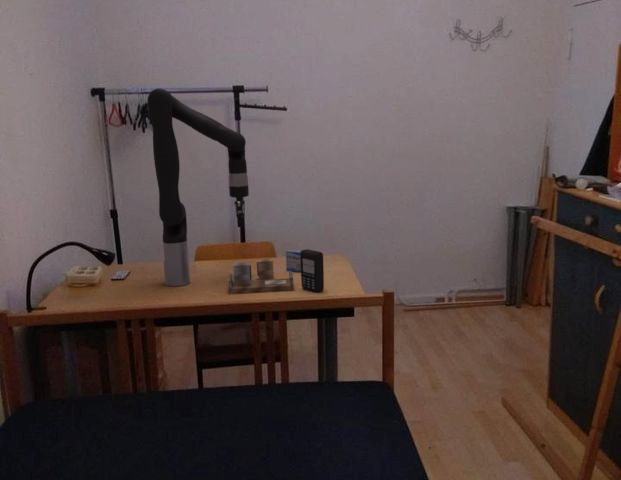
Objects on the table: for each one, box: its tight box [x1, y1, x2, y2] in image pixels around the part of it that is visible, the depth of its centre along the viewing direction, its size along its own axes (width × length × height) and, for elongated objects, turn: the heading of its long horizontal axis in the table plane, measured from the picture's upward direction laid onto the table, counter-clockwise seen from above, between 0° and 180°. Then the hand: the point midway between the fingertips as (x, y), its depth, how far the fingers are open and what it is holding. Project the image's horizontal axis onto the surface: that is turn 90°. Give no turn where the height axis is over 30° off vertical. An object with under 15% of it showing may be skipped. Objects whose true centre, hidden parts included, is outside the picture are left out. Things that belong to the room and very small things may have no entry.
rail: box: [227, 262, 295, 295], centre depth 224 cm, size 24×10×10 cm, turn 95°
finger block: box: [256, 258, 275, 280], centre depth 236 cm, size 6×4×8 cm, turn 95°
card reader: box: [300, 248, 325, 293], centre depth 219 cm, size 9×4×15 cm, turn 44°
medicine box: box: [285, 249, 302, 273], centre depth 248 cm, size 8×4×9 cm, turn 62°
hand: (240, 225), depth 235 cm, fingers open, 8 cm apart
